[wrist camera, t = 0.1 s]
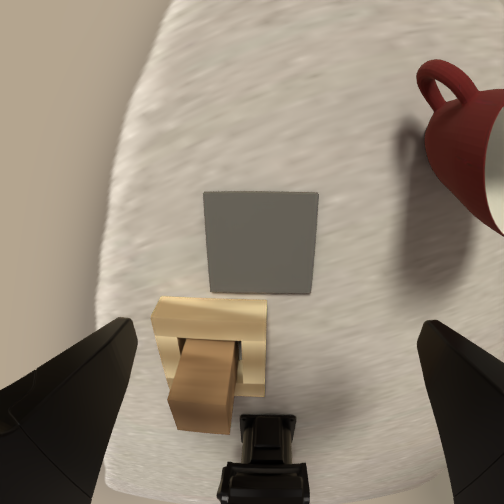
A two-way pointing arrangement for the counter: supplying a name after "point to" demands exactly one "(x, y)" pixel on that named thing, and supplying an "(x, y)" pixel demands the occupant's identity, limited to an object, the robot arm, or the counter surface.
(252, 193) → the mat
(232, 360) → the peg
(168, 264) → the counter surface
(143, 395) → the counter surface
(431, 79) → the mug
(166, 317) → the holder
